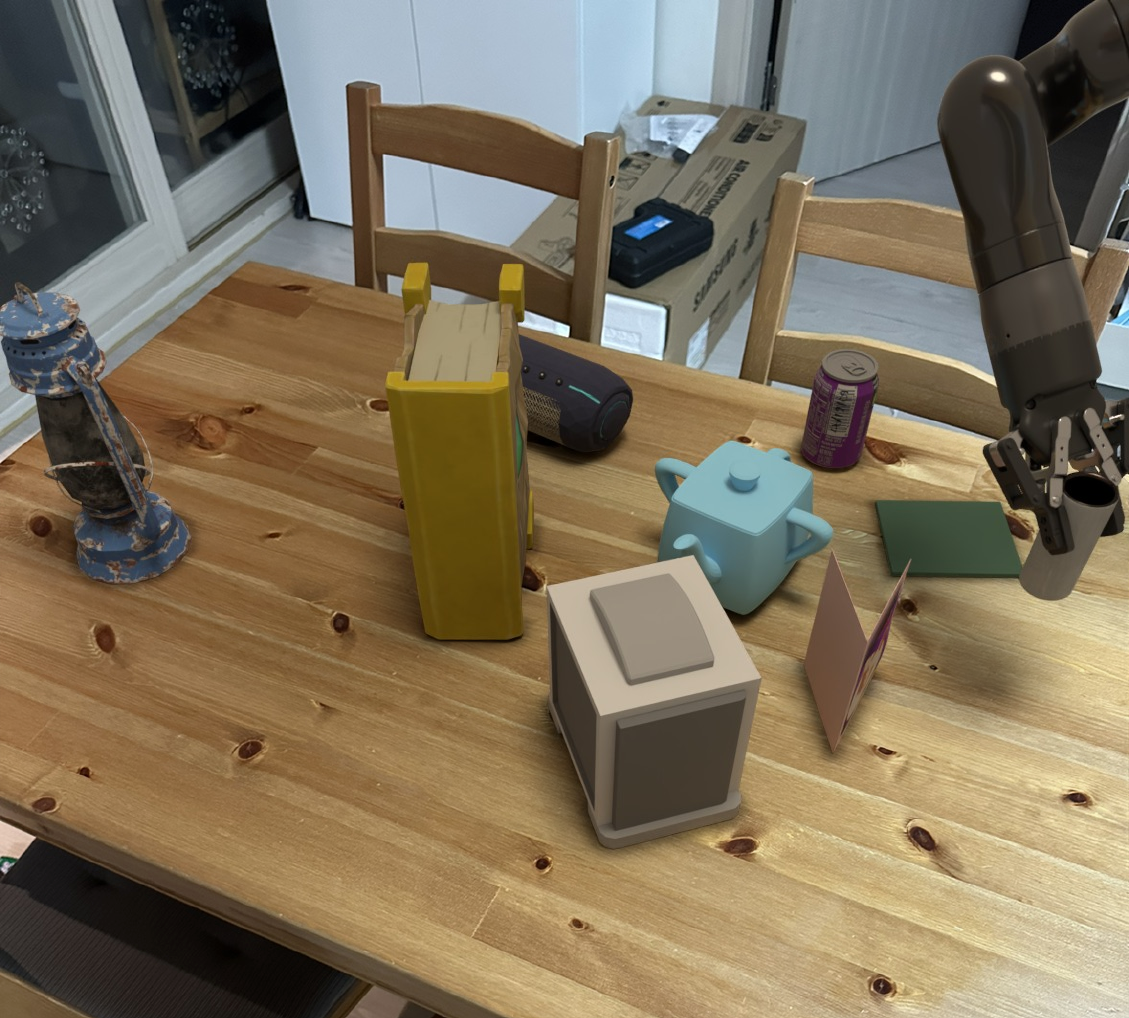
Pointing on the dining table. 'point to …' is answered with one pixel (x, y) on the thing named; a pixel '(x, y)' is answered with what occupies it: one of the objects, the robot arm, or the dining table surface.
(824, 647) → the greeting card
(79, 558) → the lantern
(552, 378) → the portable speaker
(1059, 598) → the planter
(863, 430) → the beverage can
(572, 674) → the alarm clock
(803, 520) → the teapot
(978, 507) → the green mat
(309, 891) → the dining table surface
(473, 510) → the decorative book
